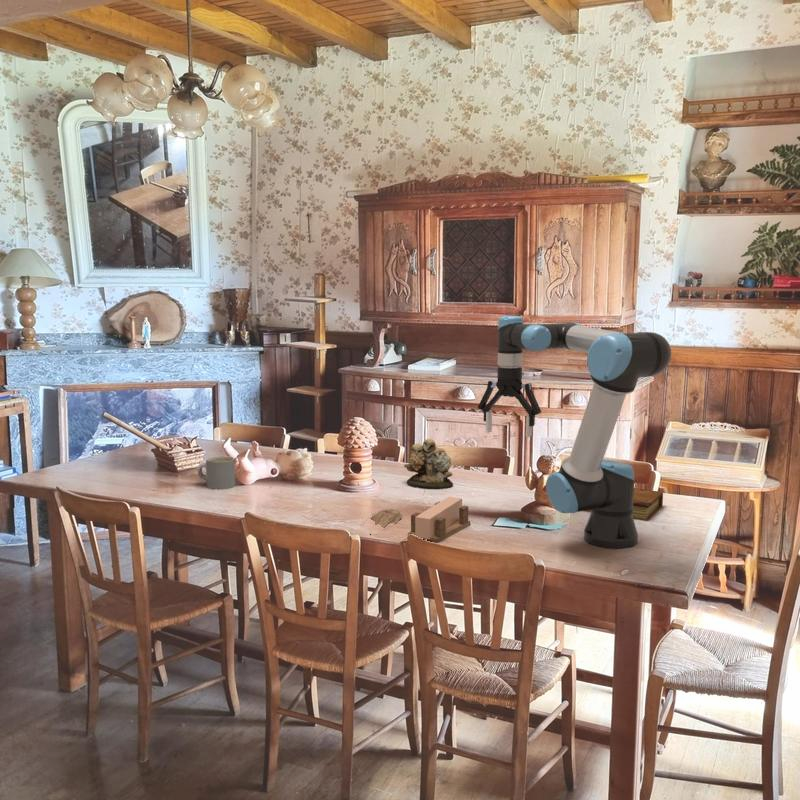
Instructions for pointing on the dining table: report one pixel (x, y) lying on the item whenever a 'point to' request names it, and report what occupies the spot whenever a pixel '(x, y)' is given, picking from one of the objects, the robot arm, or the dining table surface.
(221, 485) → the coffee mug
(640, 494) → the diary
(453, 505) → the clay strip
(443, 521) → the rack
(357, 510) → the dining table surface
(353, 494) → the dining table surface
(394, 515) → the fish fossil
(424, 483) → the owl figurine
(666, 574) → the dining table surface
